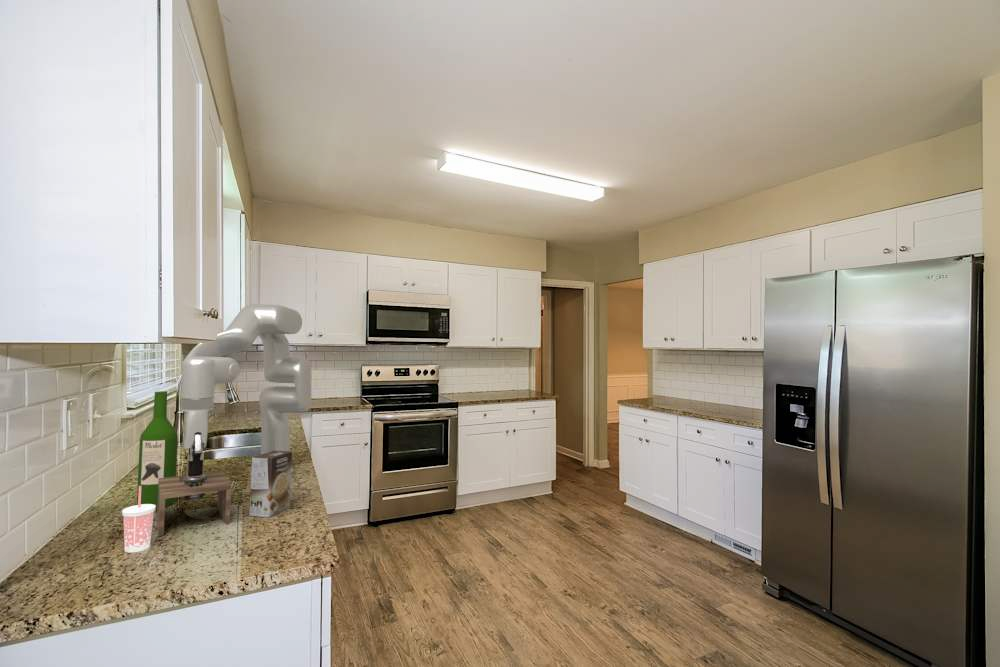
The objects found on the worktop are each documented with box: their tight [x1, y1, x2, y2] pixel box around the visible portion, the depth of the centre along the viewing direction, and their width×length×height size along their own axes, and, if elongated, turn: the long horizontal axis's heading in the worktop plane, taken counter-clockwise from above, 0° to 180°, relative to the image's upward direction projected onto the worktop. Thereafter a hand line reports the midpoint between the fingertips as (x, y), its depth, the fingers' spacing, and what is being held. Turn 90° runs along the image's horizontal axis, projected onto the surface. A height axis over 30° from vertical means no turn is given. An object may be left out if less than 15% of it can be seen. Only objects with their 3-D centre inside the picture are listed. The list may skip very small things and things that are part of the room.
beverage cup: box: [121, 486, 156, 553], centre depth 107 cm, size 6×6×14 cm
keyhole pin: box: [182, 452, 206, 501], centre depth 125 cm, size 5×5×12 cm
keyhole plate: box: [156, 470, 232, 537], centre depth 125 cm, size 17×15×10 cm
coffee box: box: [248, 450, 293, 519], centre depth 133 cm, size 9×6×16 cm
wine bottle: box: [136, 391, 179, 511], centre depth 137 cm, size 9×9×32 cm
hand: (194, 473), depth 125 cm, fingers closed on keyhole pin, 3 cm apart
